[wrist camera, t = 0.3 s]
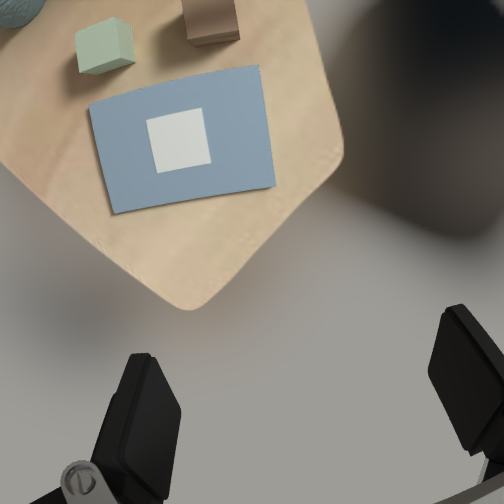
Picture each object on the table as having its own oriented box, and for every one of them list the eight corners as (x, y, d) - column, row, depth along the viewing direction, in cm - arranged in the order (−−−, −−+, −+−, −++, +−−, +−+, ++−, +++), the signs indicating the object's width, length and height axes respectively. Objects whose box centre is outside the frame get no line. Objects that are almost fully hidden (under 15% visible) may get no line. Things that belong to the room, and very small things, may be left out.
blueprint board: (92, 104, 32) (88, 105, 31) (258, 66, 31) (258, 64, 30) (117, 211, 38) (114, 214, 37) (275, 184, 37) (276, 186, 36)
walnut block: (189, 9, 28) (181, -3, 23) (233, 1, 28) (231, -13, 23) (195, 47, 30) (187, 39, 26) (240, 39, 30) (238, 30, 25)
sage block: (93, 38, 29) (74, 32, 24) (131, 25, 28) (115, 16, 24) (98, 74, 31) (79, 72, 26) (136, 62, 30) (120, 57, 26)
